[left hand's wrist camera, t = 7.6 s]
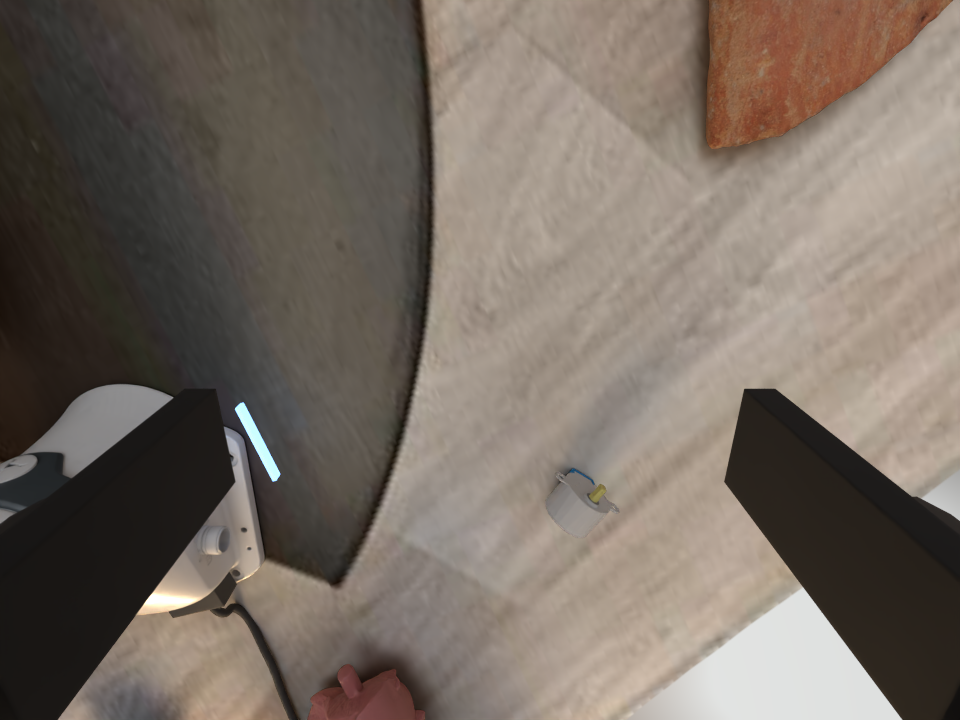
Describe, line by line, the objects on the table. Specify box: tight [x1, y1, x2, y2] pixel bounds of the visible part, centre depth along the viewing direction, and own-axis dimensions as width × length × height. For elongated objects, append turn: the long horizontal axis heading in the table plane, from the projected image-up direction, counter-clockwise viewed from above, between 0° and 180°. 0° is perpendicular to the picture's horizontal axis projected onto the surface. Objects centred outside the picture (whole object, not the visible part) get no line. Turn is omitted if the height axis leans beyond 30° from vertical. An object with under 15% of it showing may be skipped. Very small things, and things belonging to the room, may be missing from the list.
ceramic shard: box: [706, 0, 953, 149], centre depth 31 cm, size 15×6×15 cm
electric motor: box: [545, 468, 619, 538], centre depth 44 cm, size 7×5×5 cm
